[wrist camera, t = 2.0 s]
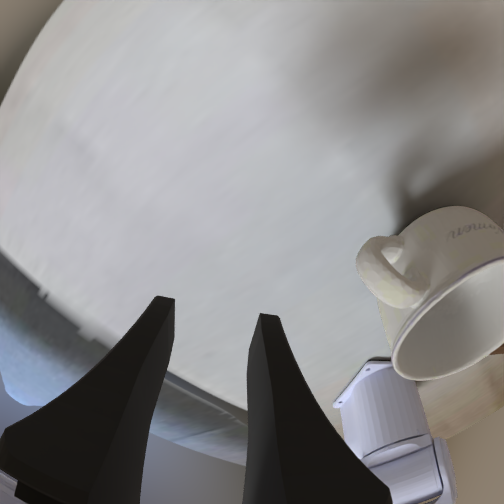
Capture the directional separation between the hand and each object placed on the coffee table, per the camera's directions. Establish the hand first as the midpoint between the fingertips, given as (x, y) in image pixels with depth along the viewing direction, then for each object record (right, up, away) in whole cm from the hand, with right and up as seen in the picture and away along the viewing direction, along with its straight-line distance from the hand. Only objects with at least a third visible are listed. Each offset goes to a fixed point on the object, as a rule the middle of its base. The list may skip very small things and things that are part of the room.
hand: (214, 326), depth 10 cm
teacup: (+13, +3, +9) cm, 16 cm away
